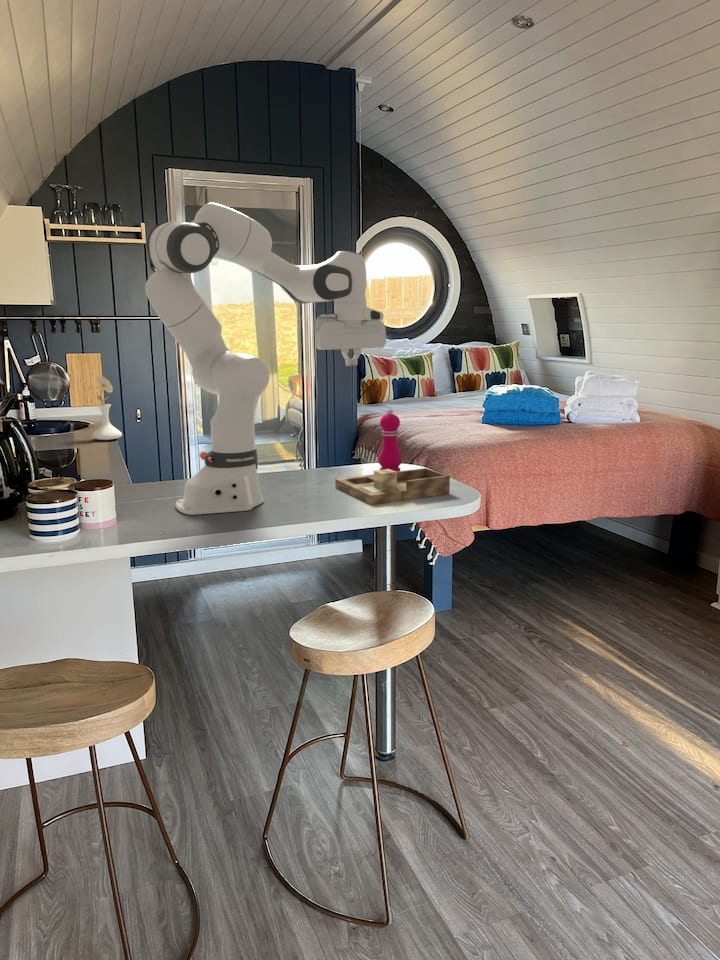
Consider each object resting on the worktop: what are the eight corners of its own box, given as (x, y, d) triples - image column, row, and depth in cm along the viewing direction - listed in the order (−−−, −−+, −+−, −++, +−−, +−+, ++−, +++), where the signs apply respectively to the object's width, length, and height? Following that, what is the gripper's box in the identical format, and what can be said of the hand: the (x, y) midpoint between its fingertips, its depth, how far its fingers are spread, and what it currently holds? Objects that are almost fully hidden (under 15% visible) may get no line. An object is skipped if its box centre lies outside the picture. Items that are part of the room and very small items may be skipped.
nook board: (371, 504, 192) (370, 486, 191) (335, 487, 211) (335, 470, 210) (449, 493, 202) (449, 476, 201) (408, 478, 222) (408, 461, 221)
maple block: (382, 490, 197) (381, 473, 196) (373, 487, 201) (373, 470, 200) (396, 488, 199) (396, 471, 198) (388, 485, 203) (388, 468, 202)
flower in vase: (125, 440, 294) (120, 376, 289) (95, 443, 289) (89, 378, 283) (118, 435, 305) (112, 374, 300) (89, 438, 300) (83, 375, 294)
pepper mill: (402, 471, 231) (402, 407, 227) (401, 476, 224) (401, 410, 220) (379, 471, 232) (378, 407, 227) (377, 476, 225) (376, 410, 220)
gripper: (319, 314, 195) (321, 368, 198) (388, 313, 204) (389, 364, 207) (310, 314, 200) (311, 366, 203) (377, 313, 209) (378, 363, 212)
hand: (351, 365), depth 205 cm, fingers closed
